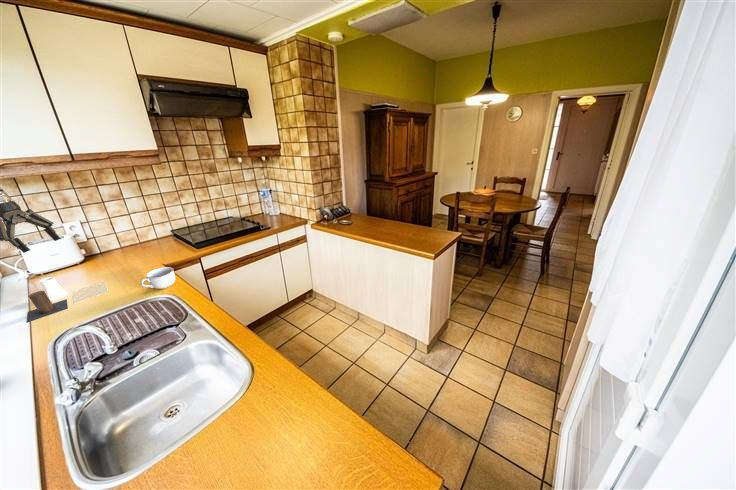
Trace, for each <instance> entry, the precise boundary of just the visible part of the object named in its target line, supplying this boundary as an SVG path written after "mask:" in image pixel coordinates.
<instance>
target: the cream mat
mask: <svg viewBox="0 0 736 490" xmlns="http://www.w3.org/2000/svg"><path fill="white" fill-rule="evenodd" d="M107 293H110V292H109V289H108V286H107V284H106V282H105V281H102V282H99V283H96V284H92V285H88V286H85V287H84V288H80V289H77V290H74V291H72V292H71V294H72V295H71V296H72V300H73V304H74V305H75V304H78V303H81V302H84V301H88V300H90V299H92V298H96V297H98V296H101V295H105V294H107Z"/></svg>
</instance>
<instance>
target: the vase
mask: <svg viewBox="0 0 736 490" xmlns="http://www.w3.org/2000/svg"><path fill="white" fill-rule="evenodd" d="M38 282H39V284H40V285H41V286H42V287H43V289H44V291H45V293H46V294H47V296H48V297H49V299H50V300H51V301H54V300H58V299H60V298H63V297H65V296H67V295H68V294H69V291H67V290H65V289H63V288H62V287H61V286H60V284H59V283H58V282H57V280H56V278H55V276H49V277H45V278H42V279H41V280H39V281H38Z"/></svg>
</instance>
